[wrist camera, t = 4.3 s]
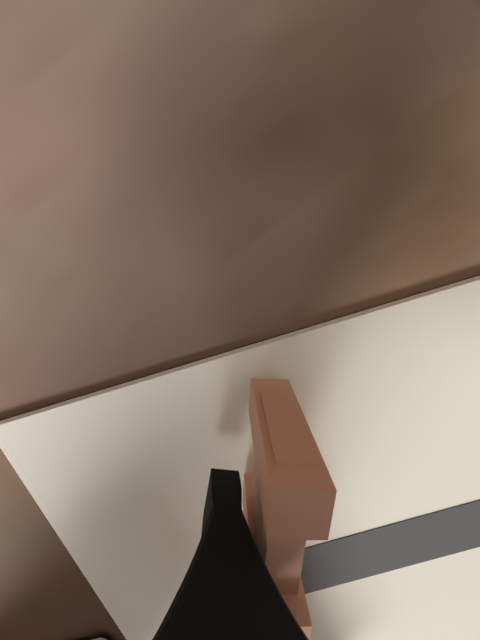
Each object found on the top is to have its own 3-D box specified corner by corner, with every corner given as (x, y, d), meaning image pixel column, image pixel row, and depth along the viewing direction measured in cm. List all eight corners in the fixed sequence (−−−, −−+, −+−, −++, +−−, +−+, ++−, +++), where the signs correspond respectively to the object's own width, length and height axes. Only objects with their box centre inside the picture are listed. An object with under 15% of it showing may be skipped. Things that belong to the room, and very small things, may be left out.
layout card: (184, 717, 18) (184, 728, 18) (-5, 422, 12) (-14, 429, 11) (543, 624, 17) (551, 634, 17) (543, 255, 11) (555, 257, 11)
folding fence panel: (266, 574, 14) (288, 753, 9) (236, 574, 14) (243, 755, 9) (288, 377, 11) (337, 487, 6) (251, 375, 11) (272, 486, 6)
